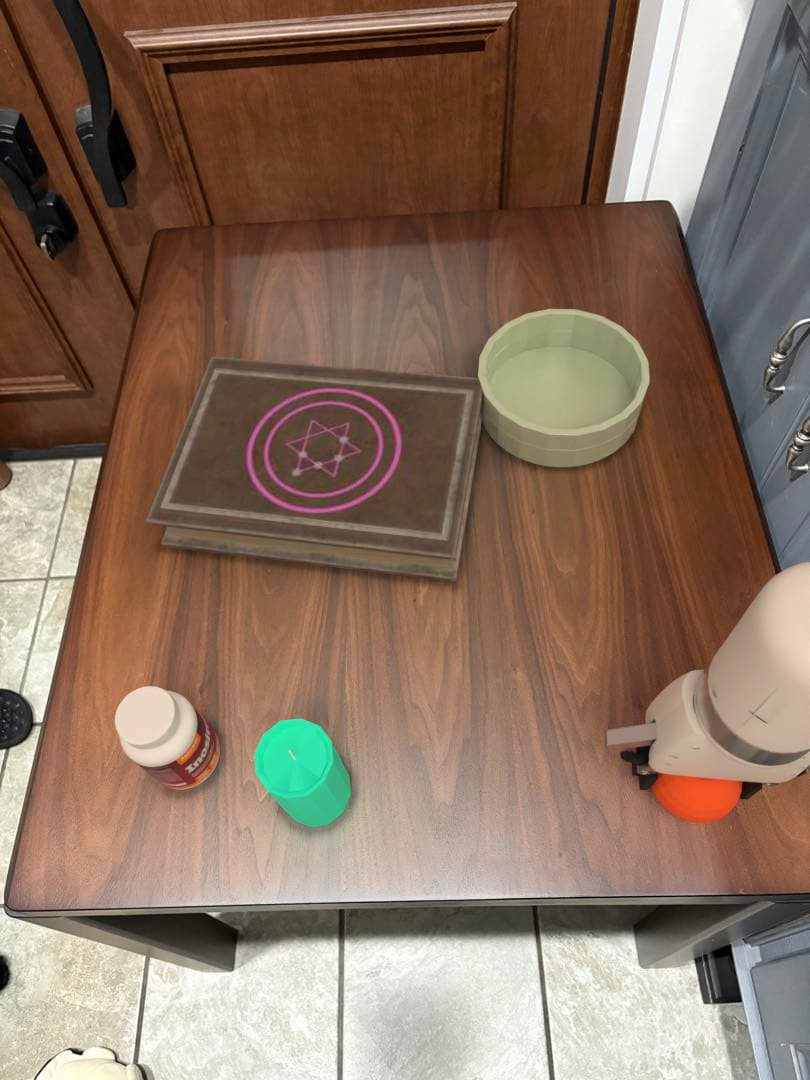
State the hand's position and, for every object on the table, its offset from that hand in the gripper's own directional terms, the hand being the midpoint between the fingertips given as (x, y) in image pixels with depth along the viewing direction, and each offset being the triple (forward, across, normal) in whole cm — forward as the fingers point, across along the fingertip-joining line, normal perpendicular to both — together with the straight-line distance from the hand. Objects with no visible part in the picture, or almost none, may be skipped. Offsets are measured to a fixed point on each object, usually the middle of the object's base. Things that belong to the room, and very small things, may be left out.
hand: (691, 775), depth 64 cm
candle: (+3, +31, +3) cm, 31 cm away
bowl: (+2, +11, -41) cm, 42 cm away
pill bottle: (+3, +43, +1) cm, 43 cm away
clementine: (+3, 0, 0) cm, 3 cm away
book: (+3, +35, -30) cm, 46 cm away
